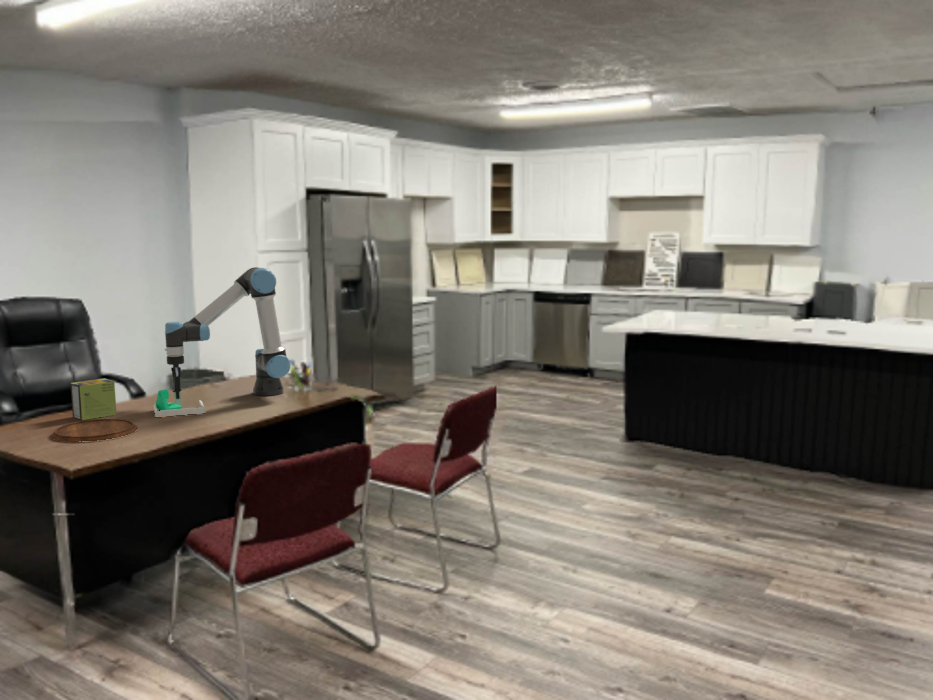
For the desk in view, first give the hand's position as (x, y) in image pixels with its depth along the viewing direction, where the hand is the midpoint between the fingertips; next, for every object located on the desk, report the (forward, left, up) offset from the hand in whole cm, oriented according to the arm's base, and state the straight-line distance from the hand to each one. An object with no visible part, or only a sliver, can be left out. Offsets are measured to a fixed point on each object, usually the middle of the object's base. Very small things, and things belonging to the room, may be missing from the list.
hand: (178, 405), depth 363 cm
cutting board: (+34, +34, -2) cm, 48 cm away
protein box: (+35, +2, -2) cm, 35 cm away
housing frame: (0, +9, -1) cm, 9 cm away
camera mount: (+4, +5, -2) cm, 7 cm away
